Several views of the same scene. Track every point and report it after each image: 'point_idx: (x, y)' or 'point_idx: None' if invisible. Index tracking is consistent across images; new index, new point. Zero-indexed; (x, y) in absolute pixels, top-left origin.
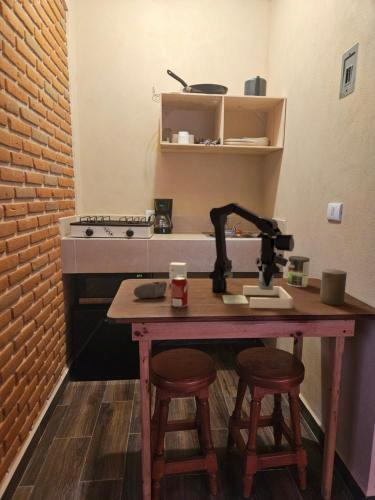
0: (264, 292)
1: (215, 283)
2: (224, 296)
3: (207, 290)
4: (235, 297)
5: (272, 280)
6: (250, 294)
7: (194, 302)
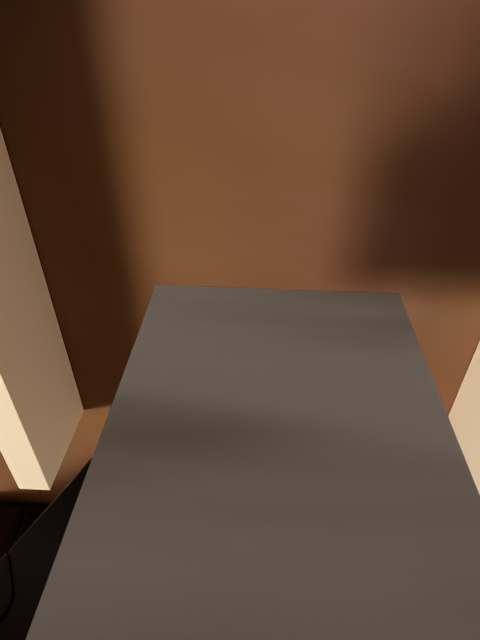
0: (7, 226)
1: None
2: None
3: None
4: None
5: (460, 485)
6: (66, 359)
7: None
